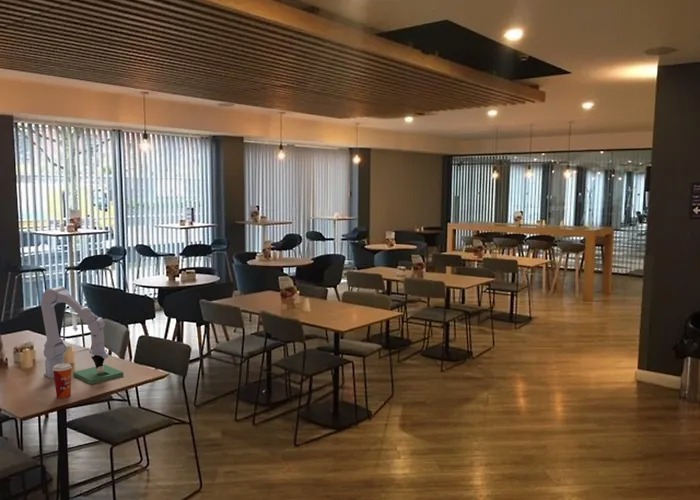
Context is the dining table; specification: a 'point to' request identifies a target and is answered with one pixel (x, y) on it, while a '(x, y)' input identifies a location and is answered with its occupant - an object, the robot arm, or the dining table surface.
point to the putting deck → (98, 374)
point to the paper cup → (62, 380)
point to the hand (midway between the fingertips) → (99, 369)
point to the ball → (100, 369)
